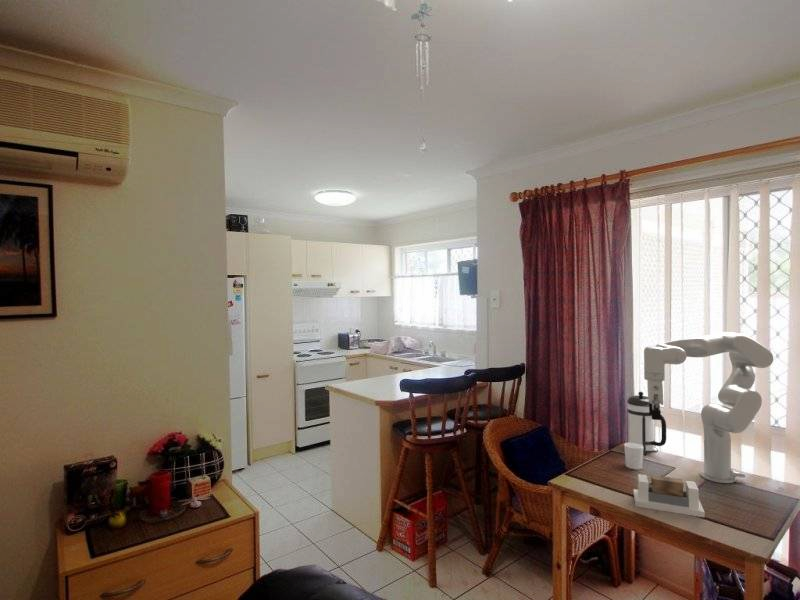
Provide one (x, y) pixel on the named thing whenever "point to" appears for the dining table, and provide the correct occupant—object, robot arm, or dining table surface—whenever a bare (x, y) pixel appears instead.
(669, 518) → the dining table surface
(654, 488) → the brown wooden block
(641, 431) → the coffee press
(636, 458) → the white cup
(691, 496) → the track frame
